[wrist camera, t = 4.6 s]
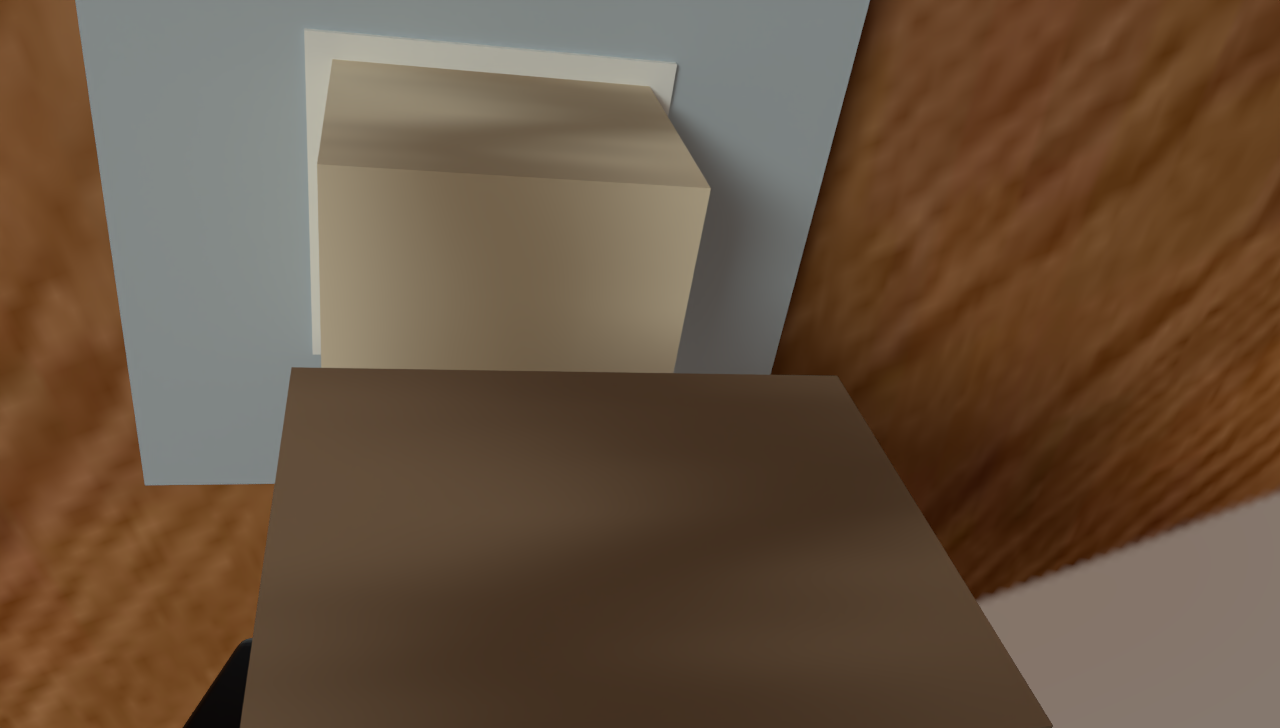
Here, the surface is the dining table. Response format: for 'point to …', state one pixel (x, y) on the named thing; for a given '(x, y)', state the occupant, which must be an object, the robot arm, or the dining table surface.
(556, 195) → the maple block
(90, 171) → the dining table surface
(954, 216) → the dining table surface
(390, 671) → the walnut block
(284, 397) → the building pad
